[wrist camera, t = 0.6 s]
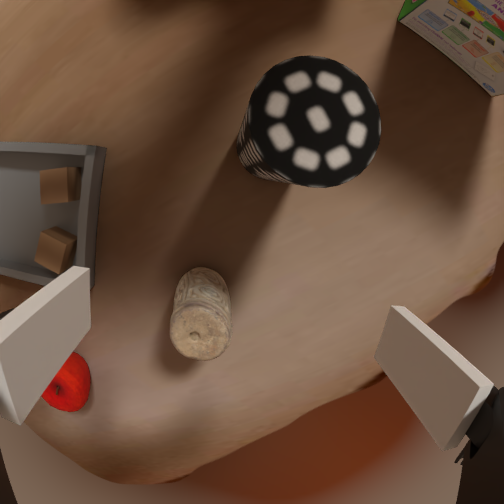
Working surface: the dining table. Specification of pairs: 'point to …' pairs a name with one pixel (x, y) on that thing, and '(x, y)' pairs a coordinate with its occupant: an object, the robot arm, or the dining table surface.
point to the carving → (201, 315)
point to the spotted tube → (309, 124)
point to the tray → (46, 206)
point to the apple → (69, 385)
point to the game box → (463, 35)
